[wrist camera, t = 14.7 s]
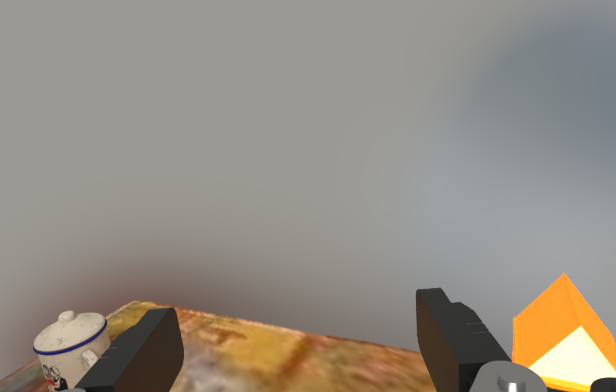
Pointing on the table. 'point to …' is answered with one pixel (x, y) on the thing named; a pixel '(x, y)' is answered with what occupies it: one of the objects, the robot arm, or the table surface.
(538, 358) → the orange juice
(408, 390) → the table surface
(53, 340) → the teacup with lid
